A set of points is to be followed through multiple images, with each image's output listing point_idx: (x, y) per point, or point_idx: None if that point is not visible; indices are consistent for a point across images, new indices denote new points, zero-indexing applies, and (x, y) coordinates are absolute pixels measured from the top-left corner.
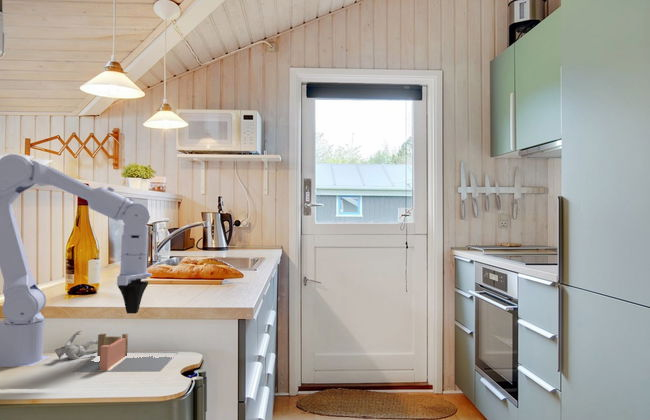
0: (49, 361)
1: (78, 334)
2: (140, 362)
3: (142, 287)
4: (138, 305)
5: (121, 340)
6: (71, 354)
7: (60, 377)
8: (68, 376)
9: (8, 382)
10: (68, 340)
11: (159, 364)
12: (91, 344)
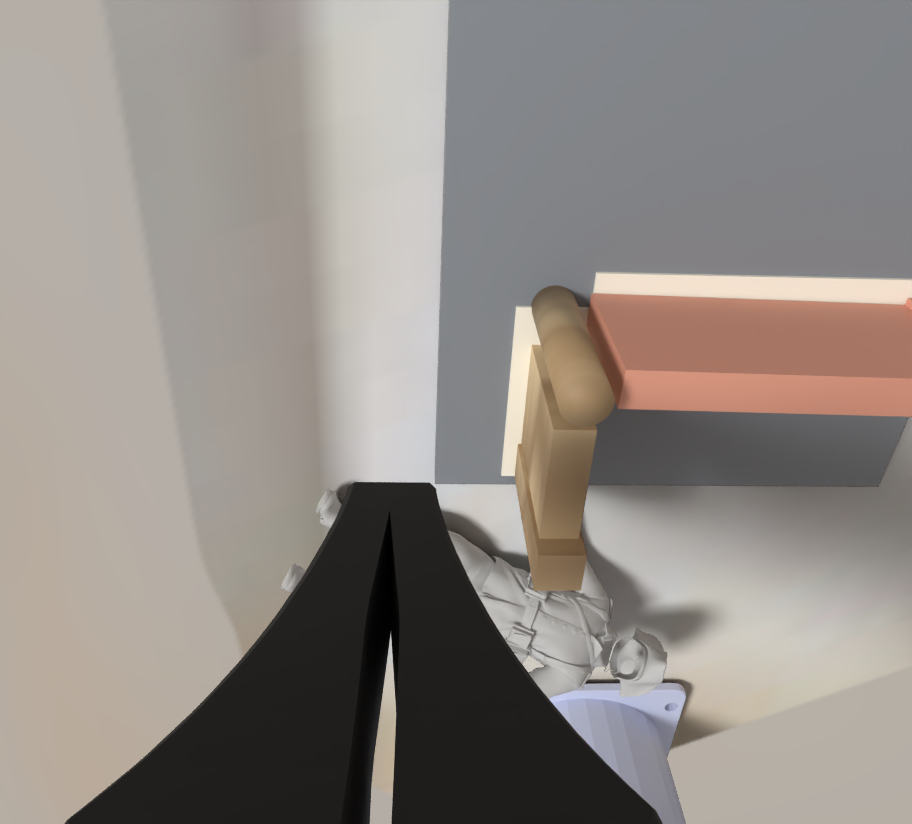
0: None
1: None
2: (791, 107)
3: (503, 797)
4: (396, 539)
5: (726, 375)
6: (608, 606)
7: (893, 510)
8: (889, 481)
9: (886, 667)
10: None
11: None
12: None
